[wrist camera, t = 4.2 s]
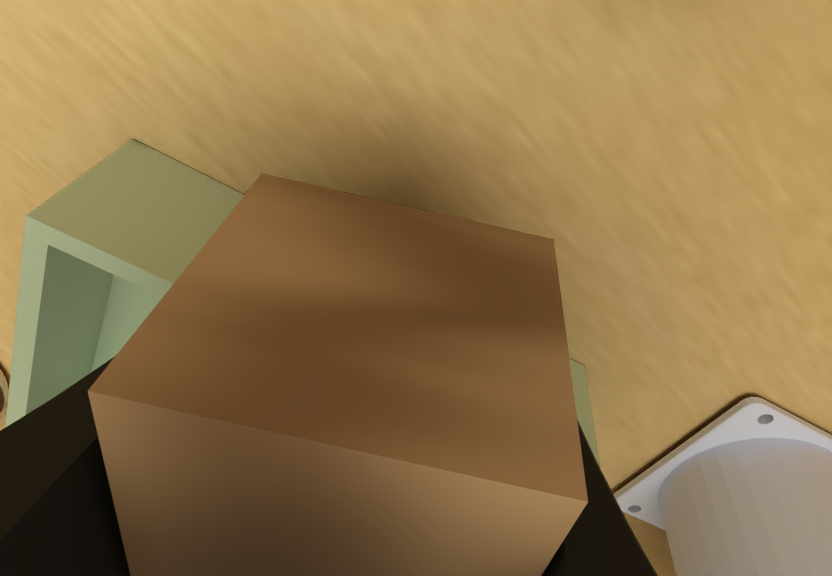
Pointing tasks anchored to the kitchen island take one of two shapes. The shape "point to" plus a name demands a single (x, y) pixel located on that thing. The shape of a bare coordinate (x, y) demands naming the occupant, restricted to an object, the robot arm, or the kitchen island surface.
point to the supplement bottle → (3, 391)
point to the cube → (346, 399)
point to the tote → (121, 269)
